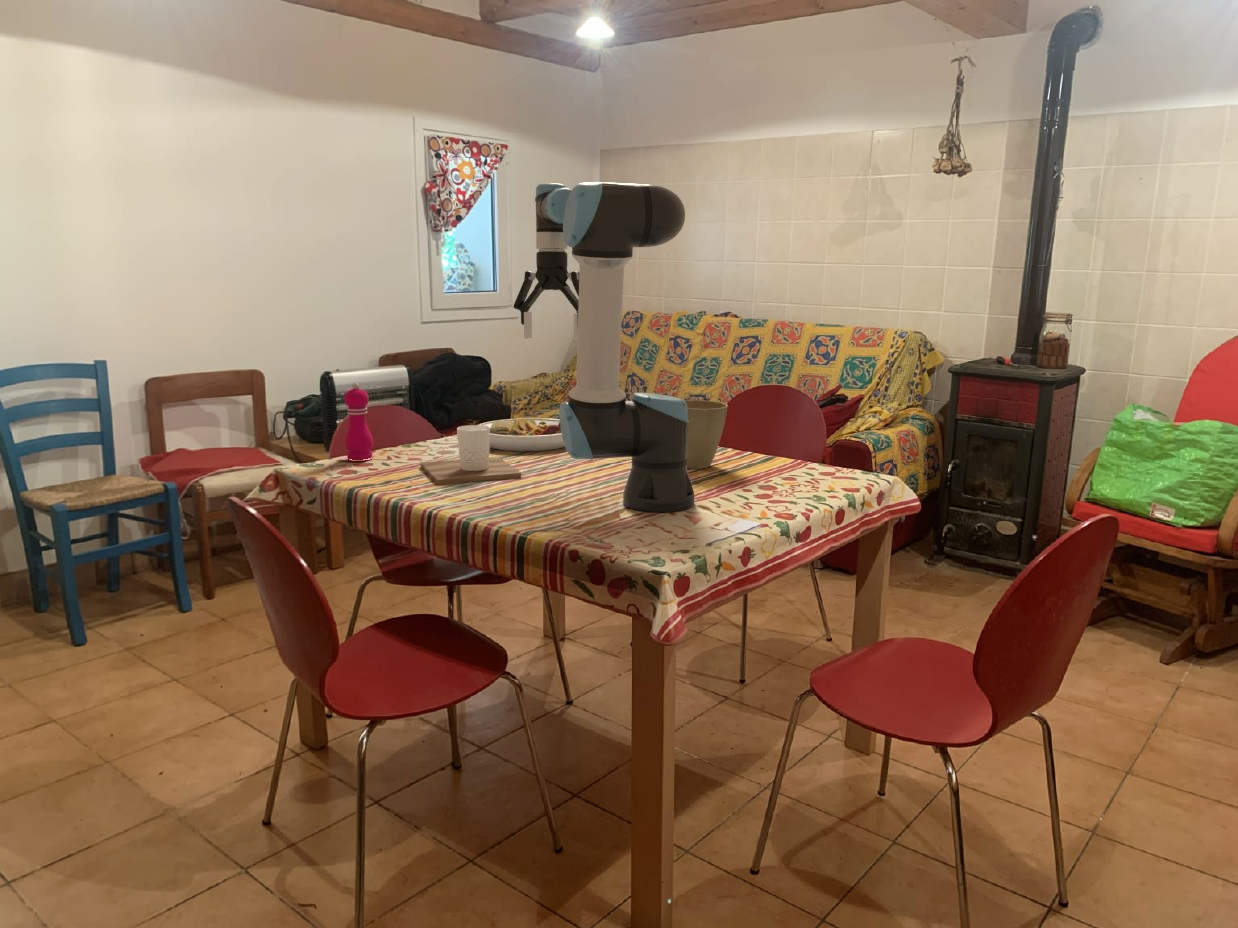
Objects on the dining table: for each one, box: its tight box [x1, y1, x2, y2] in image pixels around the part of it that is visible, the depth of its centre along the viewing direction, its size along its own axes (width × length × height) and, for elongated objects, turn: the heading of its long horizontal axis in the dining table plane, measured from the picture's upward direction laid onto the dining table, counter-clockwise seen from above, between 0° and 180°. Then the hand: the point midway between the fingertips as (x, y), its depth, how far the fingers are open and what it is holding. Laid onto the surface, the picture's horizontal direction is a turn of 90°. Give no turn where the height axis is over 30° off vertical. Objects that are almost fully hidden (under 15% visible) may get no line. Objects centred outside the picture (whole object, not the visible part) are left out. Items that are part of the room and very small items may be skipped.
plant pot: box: [682, 399, 729, 470], centre depth 224 cm, size 15×15×16 cm
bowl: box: [478, 417, 565, 452], centre depth 255 cm, size 30×30×8 cm
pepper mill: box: [343, 382, 375, 460], centre depth 229 cm, size 7×7×20 cm
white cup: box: [456, 424, 491, 471], centre depth 215 cm, size 8×8×10 cm
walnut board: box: [420, 456, 522, 486], centre depth 217 cm, size 20×20×1 cm
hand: (552, 339), depth 220 cm, fingers open, 13 cm apart
